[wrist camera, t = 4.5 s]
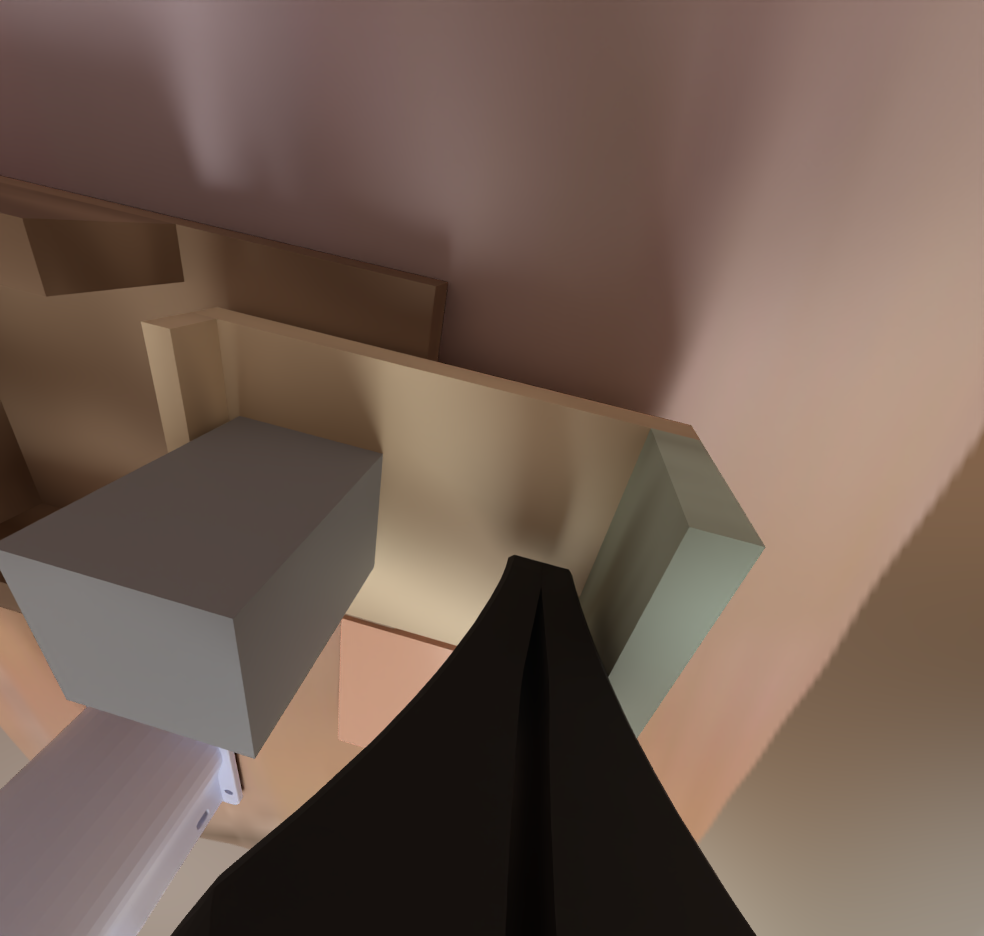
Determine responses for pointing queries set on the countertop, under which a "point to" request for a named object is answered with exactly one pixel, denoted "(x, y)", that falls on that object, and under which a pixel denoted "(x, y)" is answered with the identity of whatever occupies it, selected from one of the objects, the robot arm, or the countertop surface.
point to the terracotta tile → (381, 675)
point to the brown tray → (119, 336)
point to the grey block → (202, 579)
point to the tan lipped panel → (485, 486)
